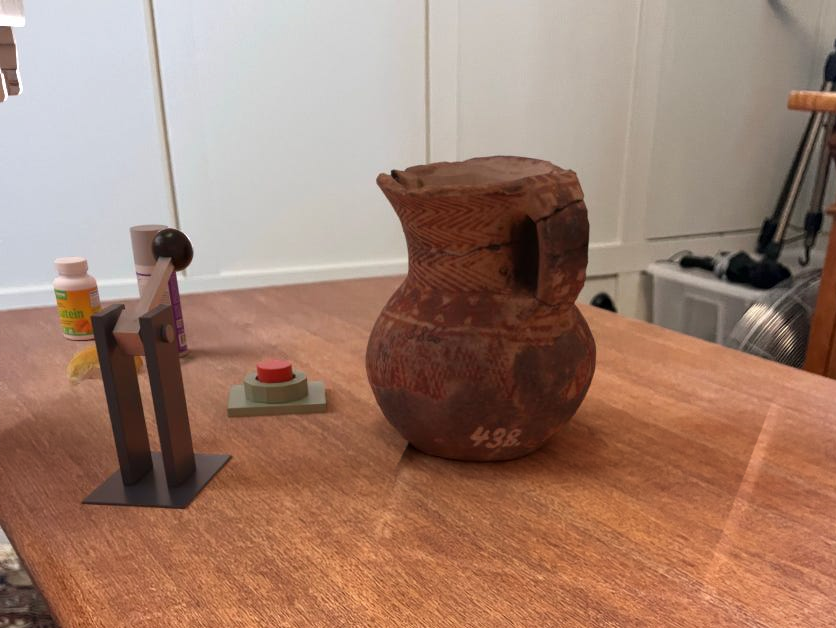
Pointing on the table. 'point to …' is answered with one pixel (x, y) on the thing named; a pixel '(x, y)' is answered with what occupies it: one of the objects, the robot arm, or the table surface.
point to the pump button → (274, 371)
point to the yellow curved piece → (89, 366)
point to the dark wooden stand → (139, 466)
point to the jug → (485, 308)
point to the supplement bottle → (76, 297)
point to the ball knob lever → (153, 286)
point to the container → (144, 269)
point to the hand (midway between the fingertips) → (3, 98)
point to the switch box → (276, 396)
